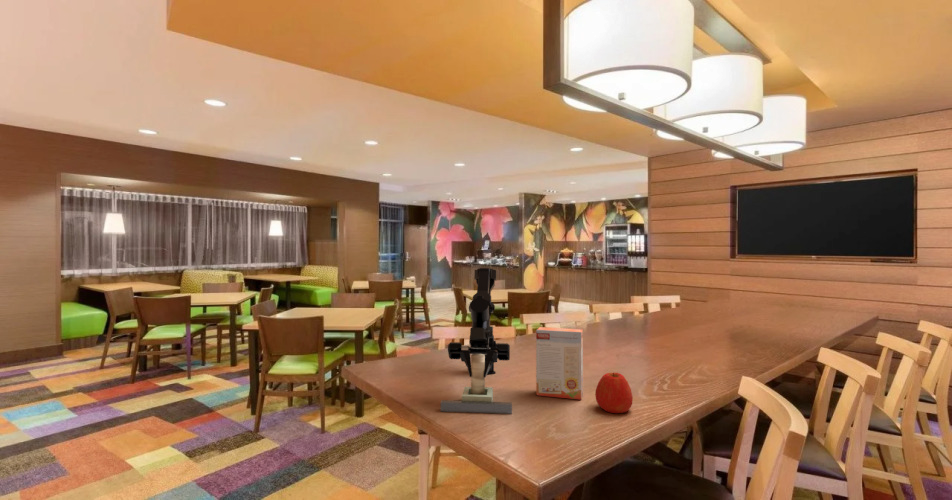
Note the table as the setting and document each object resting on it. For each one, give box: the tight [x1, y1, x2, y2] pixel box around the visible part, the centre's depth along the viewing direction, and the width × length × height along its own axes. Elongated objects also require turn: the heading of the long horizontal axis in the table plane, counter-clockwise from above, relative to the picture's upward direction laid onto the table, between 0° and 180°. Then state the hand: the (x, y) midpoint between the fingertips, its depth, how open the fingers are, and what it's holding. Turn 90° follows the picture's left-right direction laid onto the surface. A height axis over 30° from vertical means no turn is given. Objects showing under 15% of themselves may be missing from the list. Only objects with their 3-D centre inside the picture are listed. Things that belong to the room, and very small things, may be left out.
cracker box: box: [535, 326, 584, 401], centre depth 137 cm, size 14×6×21 cm, turn 71°
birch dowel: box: [470, 354, 486, 395], centre depth 129 cm, size 4×4×12 cm
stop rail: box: [440, 399, 513, 415], centre depth 123 cm, size 2×20×2 cm, turn 85°
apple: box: [594, 372, 634, 414], centre depth 125 cm, size 10×10×10 cm
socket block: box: [461, 386, 494, 402], centre depth 129 cm, size 9×9×4 cm
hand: (477, 376), depth 127 cm, fingers closed on birch dowel, 4 cm apart
